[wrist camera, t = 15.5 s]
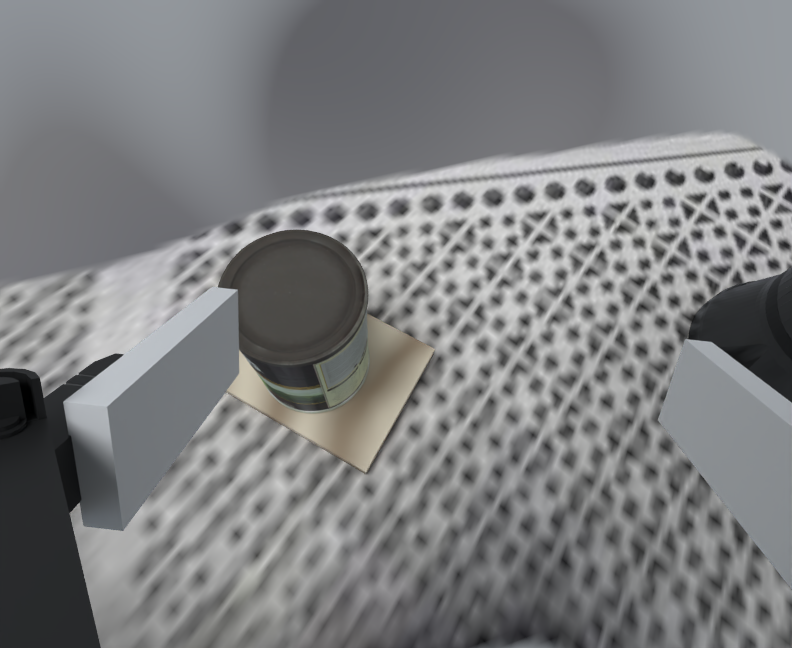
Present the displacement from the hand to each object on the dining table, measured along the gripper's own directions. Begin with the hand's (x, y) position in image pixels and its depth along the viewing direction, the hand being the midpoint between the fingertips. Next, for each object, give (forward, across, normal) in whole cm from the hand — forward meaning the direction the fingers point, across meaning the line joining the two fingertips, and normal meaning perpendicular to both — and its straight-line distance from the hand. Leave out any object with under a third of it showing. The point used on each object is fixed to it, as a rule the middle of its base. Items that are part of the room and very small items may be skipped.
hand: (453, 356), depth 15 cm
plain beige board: (+30, -9, -16) cm, 35 cm away
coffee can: (+29, -9, -15) cm, 34 cm away
